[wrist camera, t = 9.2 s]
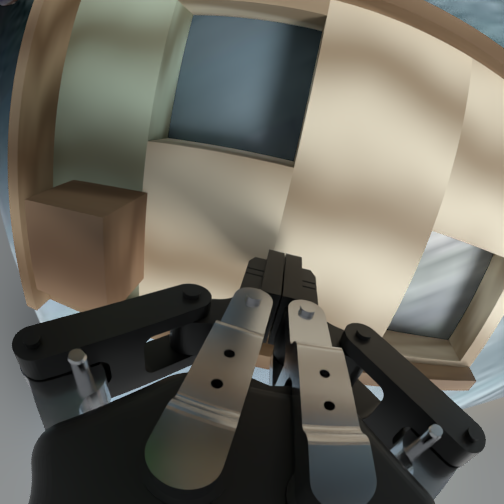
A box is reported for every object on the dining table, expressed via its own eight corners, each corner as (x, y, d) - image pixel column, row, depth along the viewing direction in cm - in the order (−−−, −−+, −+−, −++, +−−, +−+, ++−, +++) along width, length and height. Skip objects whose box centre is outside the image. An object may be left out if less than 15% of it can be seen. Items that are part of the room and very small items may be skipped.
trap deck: (96, -1, 11) (42, -22, 6) (544, 116, 10) (596, 126, 5) (71, 268, 20) (27, 305, 15) (451, 355, 19) (475, 405, 14)
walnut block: (73, 179, 14) (24, 199, 10) (147, 192, 14) (102, 217, 10) (76, 257, 16) (36, 288, 13) (143, 278, 16) (109, 319, 12)
